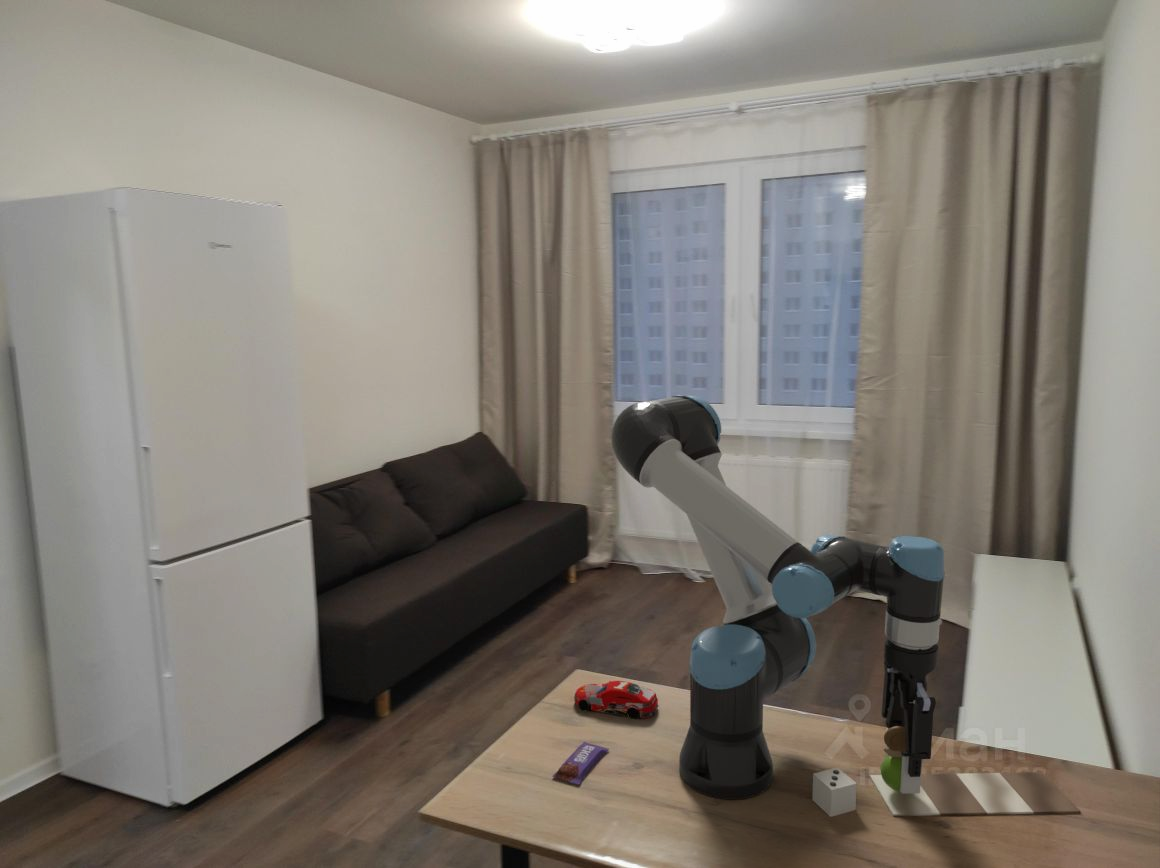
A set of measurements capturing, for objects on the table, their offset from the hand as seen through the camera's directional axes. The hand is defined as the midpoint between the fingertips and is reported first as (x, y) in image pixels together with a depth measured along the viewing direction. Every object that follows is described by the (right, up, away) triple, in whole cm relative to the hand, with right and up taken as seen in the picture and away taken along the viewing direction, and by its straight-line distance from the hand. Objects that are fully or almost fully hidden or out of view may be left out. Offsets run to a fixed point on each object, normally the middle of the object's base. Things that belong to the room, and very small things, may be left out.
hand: (901, 779), depth 125 cm
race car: (-43, +1, +29) cm, 52 cm away
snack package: (-50, -3, +10) cm, 51 cm away
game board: (+11, -2, 0) cm, 11 cm away
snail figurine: (0, -2, 0) cm, 2 cm away
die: (-11, -3, -2) cm, 12 cm away
